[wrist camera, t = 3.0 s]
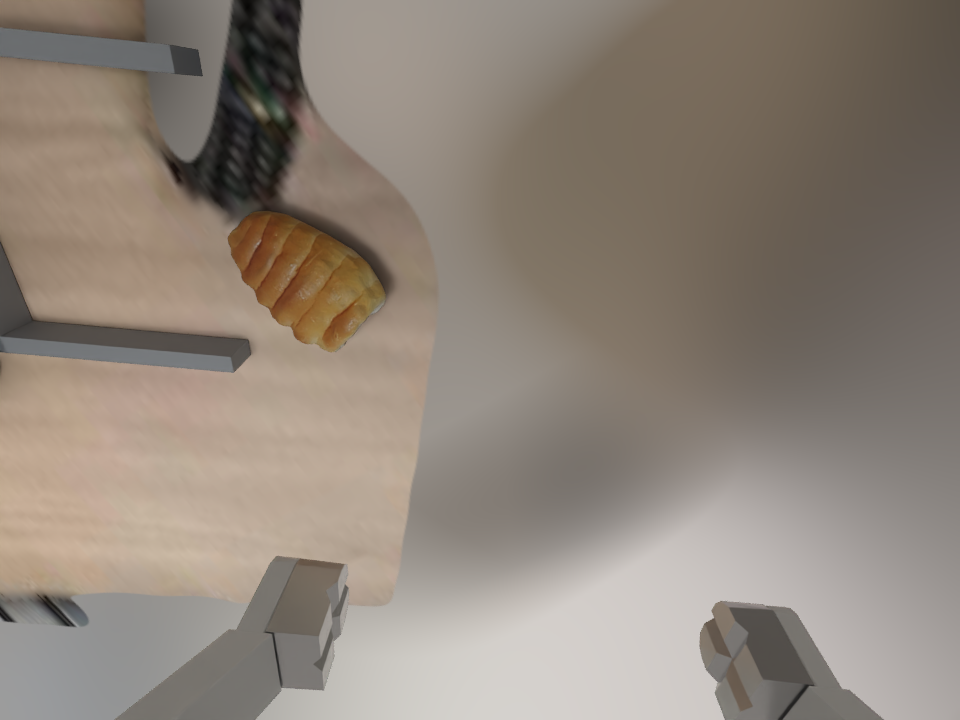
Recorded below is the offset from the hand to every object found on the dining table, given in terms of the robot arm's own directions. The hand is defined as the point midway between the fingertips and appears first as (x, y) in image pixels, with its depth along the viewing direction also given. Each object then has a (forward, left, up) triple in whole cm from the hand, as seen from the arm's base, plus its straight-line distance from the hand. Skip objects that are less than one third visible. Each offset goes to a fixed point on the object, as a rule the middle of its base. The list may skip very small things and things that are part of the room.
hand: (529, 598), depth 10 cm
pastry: (-2, -12, -24) cm, 27 cm away
